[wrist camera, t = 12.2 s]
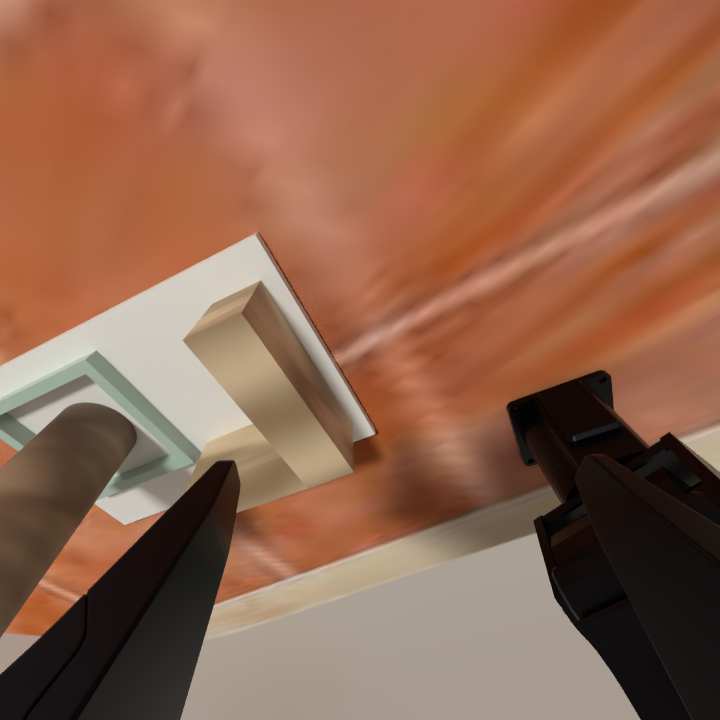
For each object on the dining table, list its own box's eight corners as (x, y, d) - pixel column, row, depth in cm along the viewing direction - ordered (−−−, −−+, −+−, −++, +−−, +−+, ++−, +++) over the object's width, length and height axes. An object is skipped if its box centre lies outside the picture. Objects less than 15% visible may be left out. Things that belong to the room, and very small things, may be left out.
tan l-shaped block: (352, 424, 23) (354, 472, 20) (233, 468, 25) (216, 519, 22) (260, 280, 18) (241, 312, 14) (116, 350, 20) (69, 393, 16)
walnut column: (148, 426, 23) (-22, 672, 12) (119, 465, 24) (-54, 712, 14) (74, 389, 21) (-203, 638, 10) (48, 434, 23) (-215, 689, 12)
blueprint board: (374, 428, 24) (376, 445, 23) (128, 517, 29) (117, 536, 27) (257, 232, 17) (250, 239, 16) (-49, 391, 21) (-75, 407, 20)
